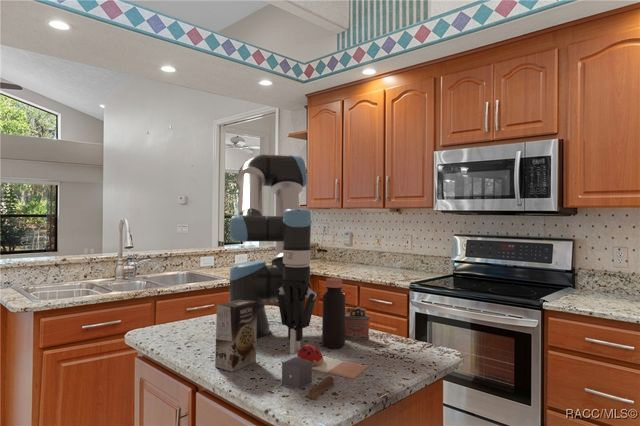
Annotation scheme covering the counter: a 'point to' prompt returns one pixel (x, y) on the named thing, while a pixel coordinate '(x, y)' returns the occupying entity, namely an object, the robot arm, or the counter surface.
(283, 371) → the die
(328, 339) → the bottle
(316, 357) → the ladybug figurine
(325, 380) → the brown bar
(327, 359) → the track
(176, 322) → the counter surface
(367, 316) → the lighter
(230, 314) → the coffee box
